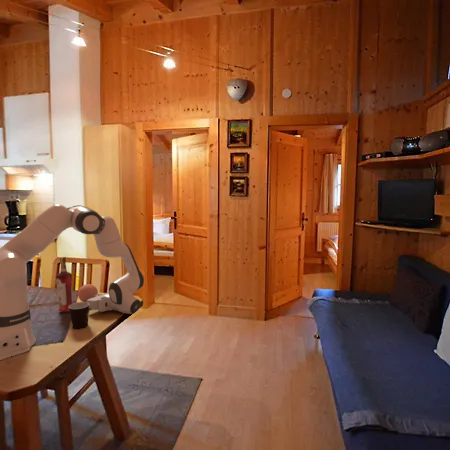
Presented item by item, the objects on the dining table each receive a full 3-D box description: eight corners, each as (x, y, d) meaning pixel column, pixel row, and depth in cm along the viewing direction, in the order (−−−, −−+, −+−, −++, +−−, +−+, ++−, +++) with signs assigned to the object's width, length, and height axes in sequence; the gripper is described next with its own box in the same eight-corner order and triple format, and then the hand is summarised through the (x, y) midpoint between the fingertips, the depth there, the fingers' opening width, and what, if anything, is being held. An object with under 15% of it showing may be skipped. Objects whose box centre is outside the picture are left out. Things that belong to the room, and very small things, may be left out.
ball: (72, 286, 178) (75, 303, 180) (84, 290, 172) (87, 307, 175) (88, 279, 186) (91, 295, 188) (100, 283, 180) (102, 299, 183)
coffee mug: (82, 331, 145) (81, 309, 144) (65, 329, 147) (64, 308, 146) (98, 320, 156) (96, 300, 155) (81, 319, 158) (80, 299, 157)
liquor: (55, 312, 167) (51, 258, 163) (67, 307, 173) (64, 255, 170) (64, 314, 163) (60, 259, 160) (77, 309, 170) (74, 256, 166)
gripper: (129, 289, 177) (112, 285, 185) (97, 300, 160) (79, 295, 167) (130, 300, 178) (113, 295, 185) (97, 313, 161) (80, 307, 168)
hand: (96, 295), depth 176 cm, fingers closed
